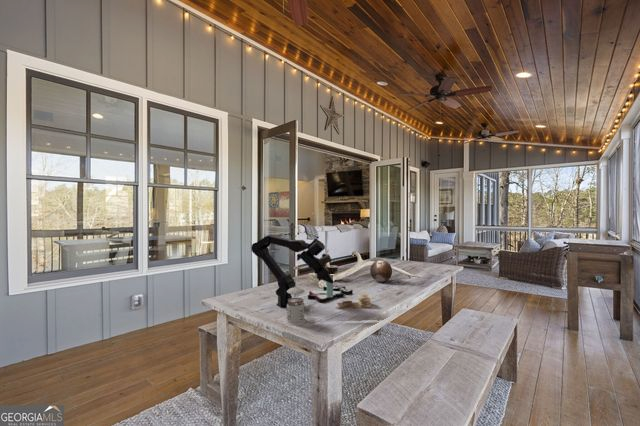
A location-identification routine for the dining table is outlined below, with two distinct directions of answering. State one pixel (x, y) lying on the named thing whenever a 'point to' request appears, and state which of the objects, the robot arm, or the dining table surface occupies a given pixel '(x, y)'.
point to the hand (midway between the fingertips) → (332, 282)
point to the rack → (356, 303)
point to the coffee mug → (332, 269)
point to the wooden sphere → (381, 271)
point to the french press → (295, 311)
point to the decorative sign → (322, 294)
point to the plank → (330, 288)
